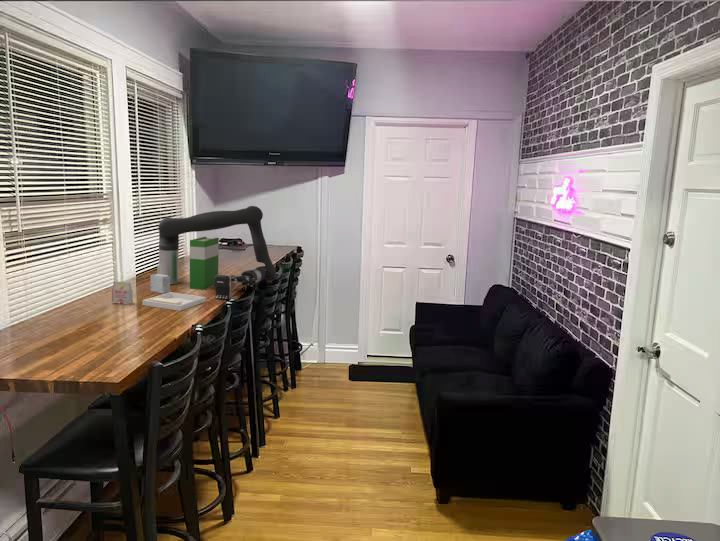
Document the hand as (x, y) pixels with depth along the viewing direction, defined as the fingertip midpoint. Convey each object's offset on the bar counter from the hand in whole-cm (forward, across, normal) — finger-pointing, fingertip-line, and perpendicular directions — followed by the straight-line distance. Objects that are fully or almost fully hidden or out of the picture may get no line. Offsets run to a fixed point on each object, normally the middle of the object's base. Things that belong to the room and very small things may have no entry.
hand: (234, 282), depth 234 cm
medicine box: (+15, -30, +6) cm, 34 cm away
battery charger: (+11, 0, +6) cm, 12 cm away
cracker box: (+35, -11, +5) cm, 37 cm away
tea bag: (+40, -29, +6) cm, 50 cm away
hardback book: (-10, -23, +6) cm, 26 cm away
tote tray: (+30, -11, +6) cm, 32 cm away
